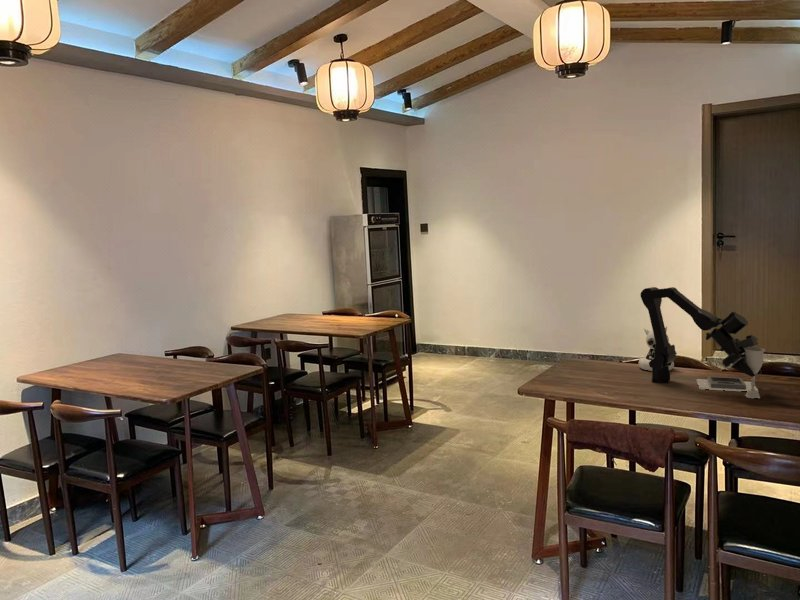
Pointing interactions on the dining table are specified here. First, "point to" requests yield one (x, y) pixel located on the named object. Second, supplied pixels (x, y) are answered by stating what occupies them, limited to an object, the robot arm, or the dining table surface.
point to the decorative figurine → (651, 351)
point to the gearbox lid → (724, 384)
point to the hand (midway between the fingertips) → (757, 374)
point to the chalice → (753, 367)
